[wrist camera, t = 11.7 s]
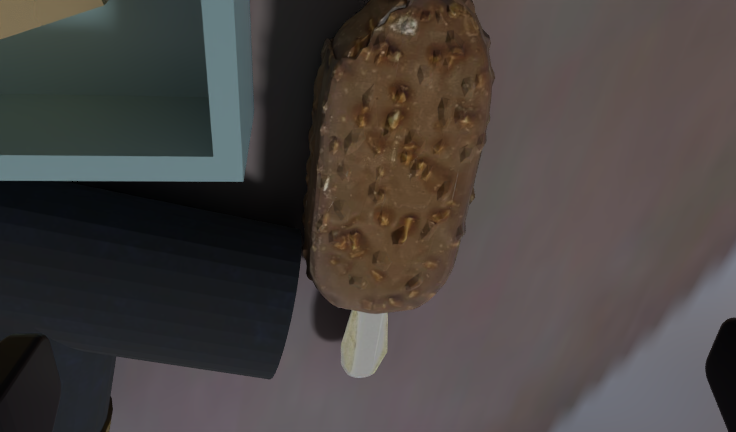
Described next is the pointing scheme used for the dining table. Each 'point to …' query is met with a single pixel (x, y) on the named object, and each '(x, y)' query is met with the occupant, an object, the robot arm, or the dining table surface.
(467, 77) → the ice cream bar
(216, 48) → the bin
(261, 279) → the pipe connector
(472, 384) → the dining table surface
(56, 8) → the gold trophy
